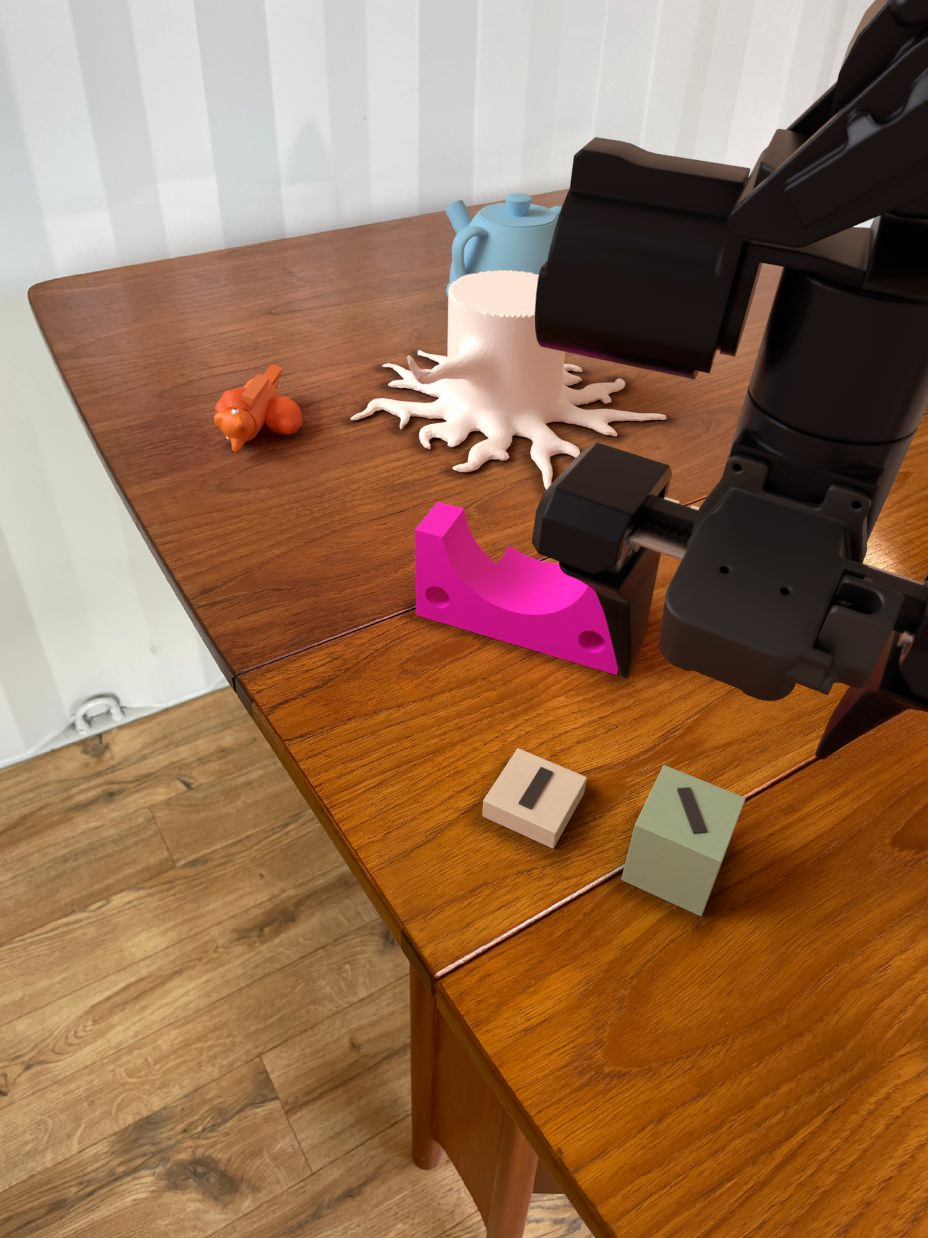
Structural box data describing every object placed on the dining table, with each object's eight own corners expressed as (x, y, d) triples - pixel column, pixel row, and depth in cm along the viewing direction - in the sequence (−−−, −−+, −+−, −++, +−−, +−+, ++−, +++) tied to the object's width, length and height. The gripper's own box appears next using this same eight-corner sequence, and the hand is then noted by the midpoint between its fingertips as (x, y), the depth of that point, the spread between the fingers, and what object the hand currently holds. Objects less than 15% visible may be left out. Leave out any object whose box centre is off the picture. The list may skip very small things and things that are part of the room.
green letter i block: (725, 853, 50) (746, 796, 46) (701, 917, 47) (722, 860, 43) (648, 820, 51) (664, 762, 48) (620, 880, 48) (635, 822, 45)
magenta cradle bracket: (639, 619, 65) (656, 535, 60) (616, 674, 60) (632, 588, 55) (450, 567, 69) (452, 484, 64) (415, 614, 64) (414, 529, 60)
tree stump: (510, 515, 74) (520, 389, 67) (297, 402, 89) (285, 288, 81) (688, 406, 90) (711, 294, 83) (482, 325, 104) (486, 223, 97)
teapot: (490, 347, 100) (496, 229, 91) (387, 292, 111) (384, 183, 103) (613, 307, 109) (628, 197, 101) (507, 260, 121) (512, 158, 113)
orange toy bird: (252, 343, 85) (204, 401, 76) (326, 374, 86) (287, 434, 77) (243, 388, 88) (195, 448, 79) (314, 417, 89) (275, 480, 80)
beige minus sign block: (584, 793, 53) (587, 775, 52) (553, 849, 50) (556, 831, 49) (516, 763, 54) (517, 745, 53) (481, 816, 51) (483, 798, 50)
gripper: (483, 420, 28) (458, 742, 39) (1142, 635, 22) (902, 950, 32) (614, 307, 36) (563, 602, 46) (1134, 444, 30) (941, 750, 40)
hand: (720, 711), depth 41 cm, fingers open, 9 cm apart
